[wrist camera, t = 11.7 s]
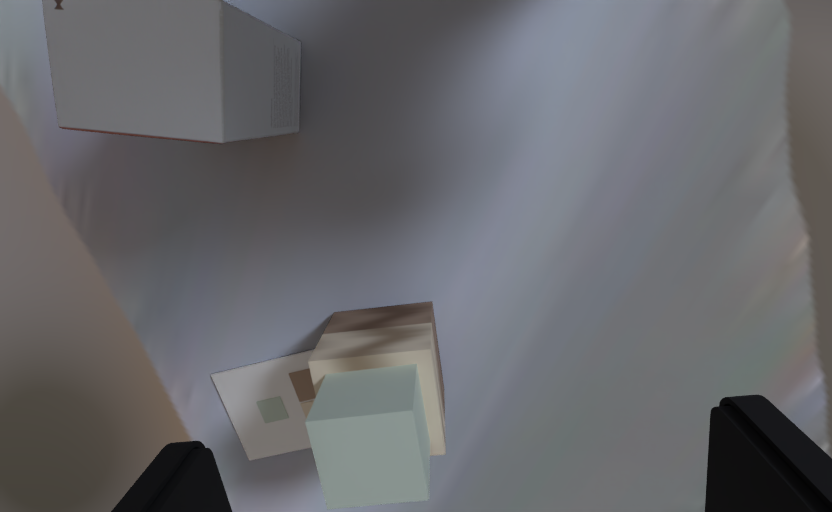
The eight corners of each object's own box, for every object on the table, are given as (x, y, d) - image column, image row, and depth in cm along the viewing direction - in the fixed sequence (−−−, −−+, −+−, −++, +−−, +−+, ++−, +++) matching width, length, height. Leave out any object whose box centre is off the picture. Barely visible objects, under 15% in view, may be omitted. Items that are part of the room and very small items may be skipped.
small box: (192, 124, 34) (52, 129, 22) (188, 30, 32) (33, -25, 20) (302, 135, 34) (224, 146, 22) (304, 40, 32) (220, -7, 20)
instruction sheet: (343, 342, 39) (343, 343, 38) (376, 432, 41) (375, 434, 41) (211, 374, 40) (210, 375, 40) (250, 459, 43) (248, 461, 42)
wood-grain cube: (432, 301, 37) (430, 349, 30) (444, 389, 40) (445, 454, 32) (334, 312, 38) (308, 361, 30) (351, 397, 40) (331, 464, 33)
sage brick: (416, 363, 30) (412, 410, 25) (430, 442, 32) (428, 500, 27) (325, 374, 31) (305, 421, 26) (343, 450, 32) (327, 509, 27)
